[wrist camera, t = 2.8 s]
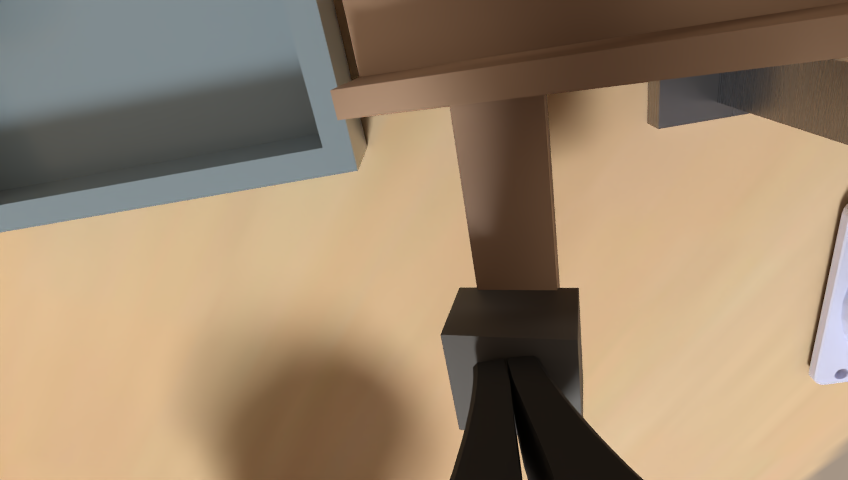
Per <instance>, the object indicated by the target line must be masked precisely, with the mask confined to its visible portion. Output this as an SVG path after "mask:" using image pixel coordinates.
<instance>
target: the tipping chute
mask: <svg viewBox="0 0 848 480" xmlns="http://www.w3.org/2000/svg"><path fill="white" fill-rule="evenodd" d="M342 1H343V6H344V10H345V15H346V19H347V24H348V28H349V33H350V37H351V42H352V46H353V51H354V55H355V59H356V64H357V68H358V73H359V78H356V79H354V80H352V81H350V82H347V83H345V84H343V85H341V86H339V87H336V88H334V89H332V90H330V92H331V96H332V100H333V104H334V108H335V112H336V116H337V120H344V119H352V118H360V117H368V116H376V115H384V114H392V113H400V112H408V111H417V110H425V109H433V108H441V107H449V106H450V112H451V119H452V125H453V132H454V138H455V145H456V152H457V158H458V165H459V171H460V178H461V185H462V191H463V198H464V204H465V211H466V218H467V224H468V231H469V237H470V244H471V251H472V257H473V264H474V270H475V277H476V284H477V288H459V290H458V293H457V295H456V298H455V300H454V303H453V305H452V308H451V310H450V313H449V315H448V318H447V320H446V323H445V325H444V328H443V330H442V333H441V339H442V344H443V349H444V354H445V359H446V364H447V369H448V374H449V379H450V384H451V390H452V395H453V400H454V405H455V410H456V415H457V420H458V425H459V429H461V430H465V426H466V421H467V417H468V412H469V407H470V401H471V395H472V387H473V366H474V365H475V364H476V363H477V362H484V361H491V360H498V359H504V362H505V366H506V369H507V373H508V376H509V371H508V363H507V358H512V357H519V356H535V357H537V358H538V359H540V361H541V363H542V364H543V366H544V367H545V369H546V371H547V372H548V373H549V375H550V376H551V378H552V379H553V381H554V382H555V383H556V385H557V386H558V387H559V389H560V390H561V391H562V393H563V394H564V395H565V396H566V398H567V399H568V400H569V401H570V403H571V404H572V405H573V406H574V408H575V409H576V410H577V411H578V412H579V413H580V415H581V416H582V417H583V370H582V349H581V327H580V306H579V288H560V284H559V269H558V254H557V239H556V224H555V209H554V194H553V179H552V164H551V149H550V133H549V118H548V103H547V94H554V93H562V92H571V91H579V90H587V89H595V88H603V87H611V86H619V85H627V84H635V83H643V82H652V81H660V80H668V79H676V78H684V77H692V76H700V75H708V74H716V73H724V72H733V71H741V70H749V69H757V68H765V67H773V66H781V65H789V64H797V63H806V62H814V61H822V60H830V59H838V58H846V57H848V0H342ZM509 380H510V379H509ZM510 387H511V386H510ZM511 395H512V394H511ZM512 403H513V402H512ZM514 418H515V417H514ZM515 426H516V424H515ZM516 433H517V429H516ZM517 435H518V434H517Z"/></svg>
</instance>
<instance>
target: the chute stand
mask: <svg viewBox="0 0 848 480" xmlns="http://www.w3.org/2000/svg"><path fill="white" fill-rule="evenodd" d="M748 113H751V114H755V115H758V116H761V117H764V118H767V119H770V120H773V121H776V122H779V123H782V124H785V125H788V126H791V127H794V128H798V129H801V130H804V131H807V132H810V133H813V134H816V135H819V136H822V137H825V138H828V139H831V140H834V141H838V142H841V143H844V144H847V145H848V57H846V58H838V59H830V60H822V61H814V62H806V63H797V64H789V65H781V66H773V67H765V68H757V69H749V70H741V71H733V72H724V73H716V74H708V75H700V76H692V77H684V78H676V79H668V80H660V81H652V82H648V124H650V125H652V126H654V127H656V128H658V129H661V128H667V127H672V126H678V125H684V124H690V123H696V122H702V121H708V120H713V119H719V118H725V117H731V116H737V115H743V114H748Z"/></svg>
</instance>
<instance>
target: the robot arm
mask: <svg viewBox="0 0 848 480" xmlns="http://www.w3.org/2000/svg"><path fill="white" fill-rule="evenodd" d="M507 363H508V371H509V376H508V373H507V369H506V366H505V362H504V359H498V360H491V361H484V362H477V363H476V364H475V365H474V366H473V387H472V395H471V401H470V407H469V412H468V417H467V421H466V426H465V430H464V434H463V438H462V442H461V445H460V449H459V452H458V455H457V459H456V462H455V465H454V469H453V472H452V475H451V478H450V480H522V472H521V464H520V456H519V449H518V441H517V434H518V439H519V444H520V449H521V454H522V458H523V463H524V468H525V471H526V474H527V478H528V480H643V479H642V478H641V477H640V476H639V475H638V474H637V473H636V472H634V471H633V470H632V469H631V468H630V467H629V466H628V465H627V464H626V463H625V462H624V461H623V460H622V459H621V458H620V457H619V456H618V455H617V454H616V453H615V452H614V451H613V450H612V449H611V448H610V447H609V446H608V445H607V443H606V442H605V441H604V440H603V439H602V438H601V437H600V436H599V435H598V434H597V433H596V432H595V431H594V430H593V428H592V427H591V426H590V425H589V424H588V423H587V422H586V420H585V419H584V418H583V417H582V416H581V415H580V413H579V412H578V411H577V410H576V409H575V408H574V406H573V405H572V404H571V403H570V401H569V400H568V399H567V398H566V396H565V395H564V394H563V393H562V391H561V390H560V389H559V387H558V386H557V385H556V383H555V382H554V381H553V379H552V378H551V376H550V375H549V373H548V372H547V371H546V369H545V367H544V366H543V364H542V363H541V361H540V359H538V358H537V357H535V356H519V357H512V358H507ZM809 376H810V377H811V378H812V379H813V380H814V381H815V382H816V383H818V384H833V383H841V382H848V204H847V205H846V206H845V207H844V210H843V212H842V215H841V220H840V225H839V230H838V235H837V239H836V244H835V249H834V254H833V258H832V263H831V268H830V273H829V278H828V282H827V287H826V292H825V297H824V301H823V306H822V311H821V316H820V321H819V325H818V330H817V335H816V340H815V345H814V349H813V354H812V359H811V364H810V368H809ZM509 379H510V380H509ZM510 386H511V387H510ZM511 394H512V395H511ZM512 402H513V403H512ZM514 417H515V418H514ZM515 424H516V426H515ZM516 429H517V433H516Z"/></svg>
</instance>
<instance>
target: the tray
mask: <svg viewBox="0 0 848 480" xmlns="http://www.w3.org/2000/svg"><path fill="white" fill-rule="evenodd" d="M350 81H352V79H351V75H350V71H349V66H348V62H347V58H346V53H345V49H344V45H343V41H342V36H341V32H340V28H339V23H338V19H337V15H336V10H335V6H334V2H333V0H0V232H5V231H11V230H17V229H23V228H29V227H34V226H40V225H46V224H52V223H57V222H63V221H69V220H75V219H81V218H86V217H92V216H98V215H104V214H110V213H115V212H121V211H127V210H133V209H139V208H144V207H150V206H156V205H162V204H167V203H173V202H179V201H185V200H191V199H196V198H202V197H208V196H214V195H220V194H225V193H231V192H237V191H243V190H249V189H254V188H260V187H266V186H272V185H277V184H283V183H289V182H295V181H301V180H306V179H312V178H318V177H324V176H330V175H335V174H341V173H347V172H353V171H358V169H359V167H360V164H361V162H362V159H363V157H364V154H365V152H366V149H367V144H366V140H365V136H364V131H363V127H362V123H361V118H352V119H344V120H337V116H336V112H335V108H334V104H333V100H332V96H331V92H330V90H332V89H334V88H336V87H339V86H341V85H343V84H345V83H347V82H350Z"/></svg>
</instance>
